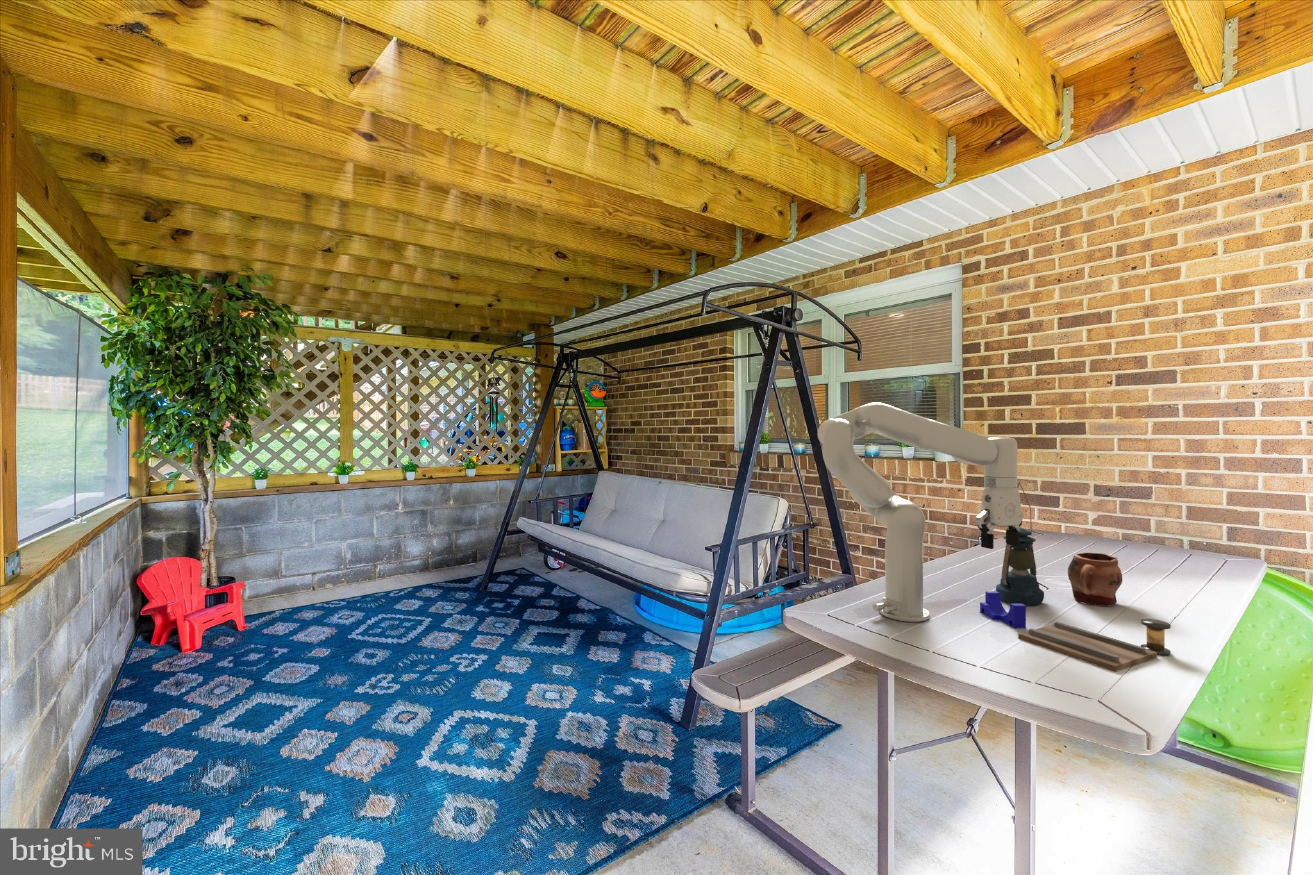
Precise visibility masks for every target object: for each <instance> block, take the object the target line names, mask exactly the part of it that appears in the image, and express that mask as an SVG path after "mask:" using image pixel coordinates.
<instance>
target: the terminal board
mask: <svg viewBox="0 0 1313 875" xmlns="http://www.w3.org/2000/svg"><path fill="white" fill-rule="evenodd" d="M1017 635H1018V636H1017V639H1020V640H1022V641H1025V642H1028V643H1031V644H1033V645H1037V646H1039V647H1042V648H1045V649H1048V650H1050V651H1053V652H1056V653H1060V654H1063V655H1066V656H1068V657H1071V658H1074V659H1077V660H1080V661H1083V662H1086V663H1089V664H1091V665H1095V666H1097V667H1099V668H1102V669H1106V670H1108V671H1112V672H1115V673H1116V672H1120V671H1123V670H1125V669H1128V668H1131V667H1134V666H1136V665H1140V664H1143V663H1147V662H1148V661H1149V662H1150V661H1151V660H1155V659H1157V658H1158V655H1157V652H1154V651H1150V650H1147V649H1146V648H1143V647H1141V645H1137V644H1133V643H1130V642H1126V641H1124V640H1119V639H1117V638H1113V637H1110V636H1107V635H1103V634H1099V633H1096V632H1093V631H1090V630H1087V629H1083V628H1079V627H1076V626H1074V625H1069V624H1066V623H1063V622H1061V621H1060V622H1058V621H1054V623H1053V624H1051V625H1046V626H1042V627H1041V626H1040V627H1038V628H1032V627H1031V628H1028V630H1027V631H1022V632H1019V633H1018V634H1017Z"/></svg>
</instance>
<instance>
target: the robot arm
mask: <svg viewBox="0 0 1313 875" xmlns="http://www.w3.org/2000/svg"><path fill="white" fill-rule="evenodd" d="M872 433H873V434H875V435H876V434H877V435H878V436H881V437H884V438H887V439H889V440H893V441H896V442H898V443H902V444H904V445H907V446H908V447H909V446H910V447H912V448H916V449H920V450H924V451H931V452H937V453H940V454H944V455H948V456H951V457H952V458H953V459H954V461H956V462H958V463H961V464H966V465H972V466H973V465H974V466H979V467H980V466H983V471H984V472H983V481H984V482H983V489H982V491H983V492H982V497H981V506H980V507H981V508H980V513H979V514H978V515H977V516H975V522H976V526H977V528H978V531H979V533H980V546H981V548H983V549H984V548H985V549H988V550H993V549H994V548H995V547H994V543H995V542H994V541H995V540H994V538H995V536H994V533H993V531H994V530H995V528H996V527H998V528H1005V527H1006V528H1008V529H1005V536H1006V539H1005V543H1006V544H1009V545H1014V546H1018V545H1019V531H1020V528H1021V526H1022V525H1023V519H1024V516H1025V514H1024V513H1023V512H1022V504H1021V501H1022V500H1021V497H1020V496H1021V495H1020V491H1019V487H1018V488H1017V486H1018V441H1017V440H1016V439H1015V438H1013V437H997V436H995V437H987V436H983V435H981V434H978V433H975V432H972V431H969V430H965V429H963V428H959V427H957V426H953V425H949V424H946V423H942V422H940V421H937V420H934V419H931V418H927V417H924V416H921V415H918V414H915V413H912V412H910V411H907V410H903V409H901V408H898V407H895V406H892V405H889V404H886V403H882V402H870V403H866V404H863V405H861V406H858V407H856V408H853V409H852V410H848V411H847V412H844V413H841V414H838V415H835V416H834V417H831V418H828V419H826V420H824V421H823V422H822V423H821V424H820V425H819V427H818V428H817V439H818V440H819V442H820V443H821V445H822V446H821V452H822V459H823V461H824V465H825V466H826V468H827V470H828V471H829V472H830V474H831V475H833V476H834V477H835V478H836V479H837V480H838V481H839V482H840V483H841V485H843V486H844V487H845V488H846V489H847V490H848V493H849V495H850V497H851V498H852V499H853V500H854V501H855V502H856V503H857V504H858V505H859V506H860V507H862V509H864V510H865V511H866V513H868V514H869V515H871V517H873V518H874V520H876V521H877V522H878V523H880V524H881V526H884V527H885V528H886V536H885V543H884V565H885V566H884V573H885V574H884V575H885V576H884V580H885V581H884V584H885V591H884V592H885V593H884V594H885V595H884V597H882V601H880V602H878V603H877V602H876V603H873V605H872V609H873V610H874V611H875V612H879V613H880V614H881V615H883V616H884V617H887V618H888V619H892V620H896V621H901V622H911V623H919V622H925V621H927V620H929V619H930V614H931V613H930V611H929V610H927V609H926V608H924V537H925V533H926V532H925V531H926V517H925V514H924V512H923V510H922V509H921V507H920V506H919V505H918V504H916V503H914V502H913V501H911V500H908V499H905V498H902V497H901V496H900V495H898V494H897V493H896V492H895V491H894V490H893V489H892V487H891V485H890V483H889V481H887V479H885V478H884V477H883V476H881V475H880V474H879V473H878V472H876V471H875V469H873V468H872V467H871V466H870V465H868V464H867V463H866V462H865V461H864V460H863V459H862V458H861V457H859V455H858V454H857V453H856V451H855V448H854V441H855V440H857V439H860V438H863V437H865V436H867V435H869V434H872ZM1006 544H1005V545H1006Z"/></svg>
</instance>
